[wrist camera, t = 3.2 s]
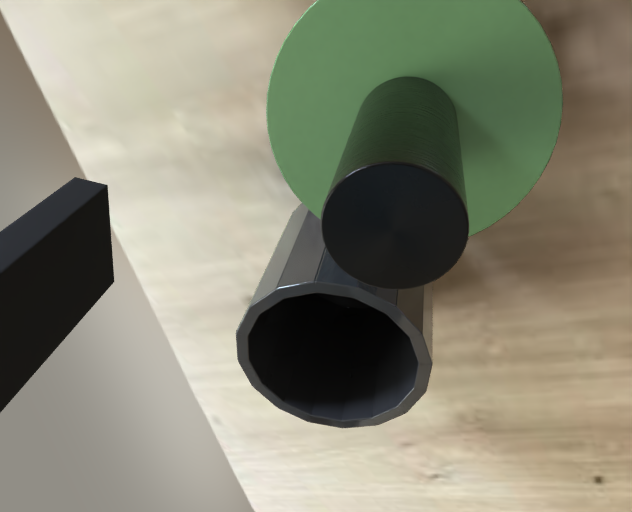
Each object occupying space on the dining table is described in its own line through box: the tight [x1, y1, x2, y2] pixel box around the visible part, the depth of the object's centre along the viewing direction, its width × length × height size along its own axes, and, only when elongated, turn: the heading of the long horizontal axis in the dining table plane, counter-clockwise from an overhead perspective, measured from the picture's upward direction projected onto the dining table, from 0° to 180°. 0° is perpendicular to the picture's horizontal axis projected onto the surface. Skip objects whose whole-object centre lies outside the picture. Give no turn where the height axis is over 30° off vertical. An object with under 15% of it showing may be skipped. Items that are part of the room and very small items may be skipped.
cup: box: [236, 203, 433, 428], centre depth 32 cm, size 10×10×11 cm
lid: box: [266, 0, 563, 290], centre depth 18 cm, size 12×12×10 cm
